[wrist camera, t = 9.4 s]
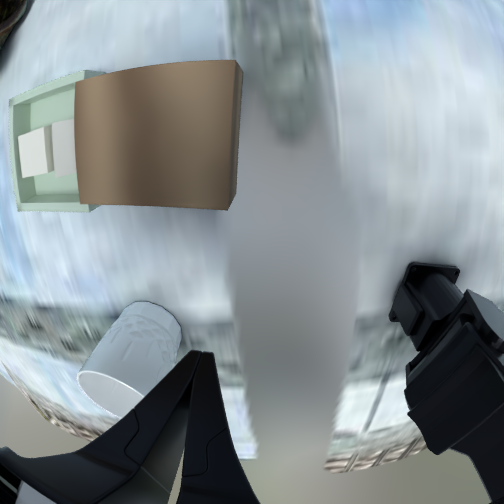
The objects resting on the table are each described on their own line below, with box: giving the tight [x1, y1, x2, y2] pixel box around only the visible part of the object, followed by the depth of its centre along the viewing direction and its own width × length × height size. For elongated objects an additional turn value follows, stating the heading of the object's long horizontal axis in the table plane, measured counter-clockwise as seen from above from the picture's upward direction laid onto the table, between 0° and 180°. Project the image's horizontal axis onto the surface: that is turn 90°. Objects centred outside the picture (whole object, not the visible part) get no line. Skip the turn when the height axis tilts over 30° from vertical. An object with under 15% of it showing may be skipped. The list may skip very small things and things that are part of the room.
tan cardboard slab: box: [74, 60, 243, 210], centre depth 16 cm, size 11×9×4 cm
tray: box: [9, 70, 106, 212], centre depth 17 cm, size 10×11×3 cm
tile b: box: [18, 126, 54, 178], centre depth 17 cm, size 4×4×2 cm
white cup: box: [76, 302, 182, 419], centre depth 22 cm, size 8×8×10 cm
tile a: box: [52, 119, 77, 178], centre depth 16 cm, size 4×4×2 cm
